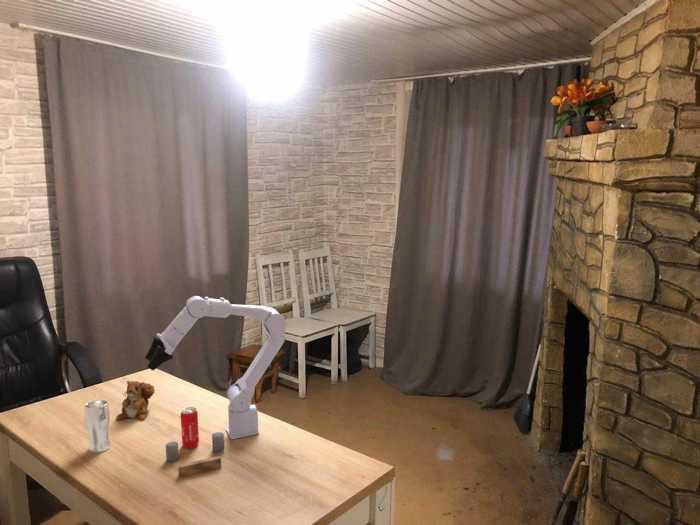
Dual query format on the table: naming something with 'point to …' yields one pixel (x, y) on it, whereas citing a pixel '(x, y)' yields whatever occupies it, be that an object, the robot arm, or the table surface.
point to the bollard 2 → (218, 442)
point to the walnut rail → (199, 466)
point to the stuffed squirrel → (136, 400)
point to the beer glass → (97, 425)
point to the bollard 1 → (172, 452)
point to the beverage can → (189, 427)
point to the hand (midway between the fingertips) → (148, 364)
